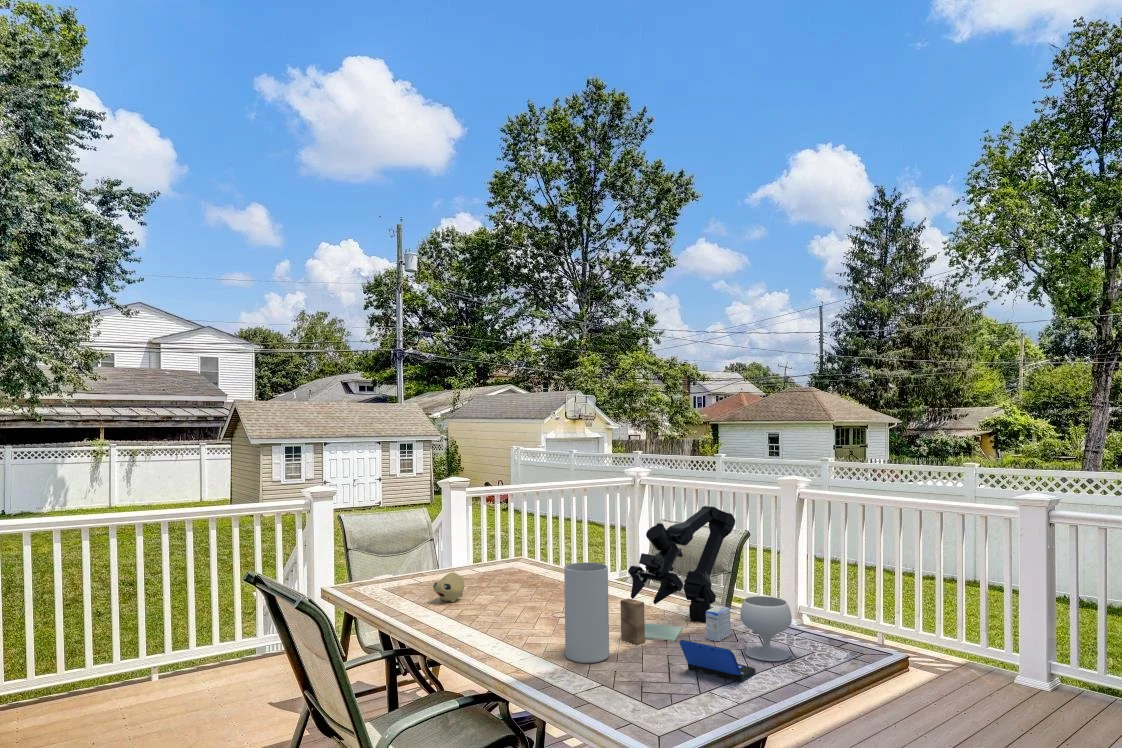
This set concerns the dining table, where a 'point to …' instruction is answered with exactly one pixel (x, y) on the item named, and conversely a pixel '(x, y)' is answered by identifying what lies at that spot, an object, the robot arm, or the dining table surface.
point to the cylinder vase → (586, 612)
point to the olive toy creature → (449, 587)
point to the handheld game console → (714, 661)
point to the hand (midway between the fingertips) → (642, 600)
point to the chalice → (766, 624)
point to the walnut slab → (632, 621)
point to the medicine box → (717, 623)
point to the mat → (662, 632)
